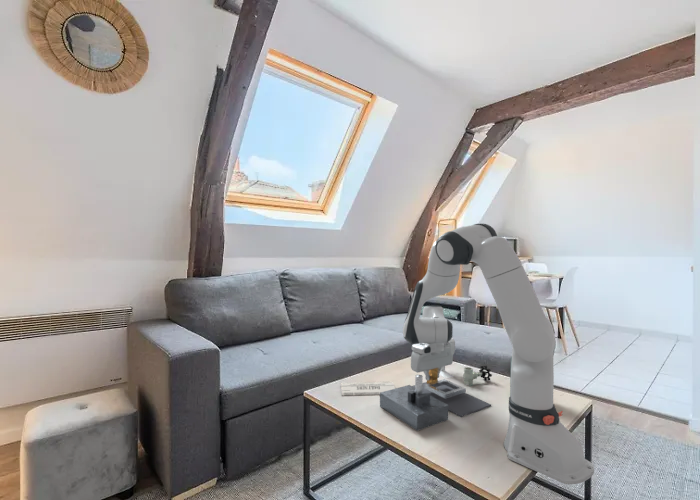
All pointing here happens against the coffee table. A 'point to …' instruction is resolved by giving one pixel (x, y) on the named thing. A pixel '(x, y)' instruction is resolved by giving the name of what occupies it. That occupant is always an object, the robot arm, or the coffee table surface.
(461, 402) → the mat
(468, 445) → the coffee table surface
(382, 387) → the newspaper
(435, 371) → the square frame with handle
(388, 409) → the toggle switch
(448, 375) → the heart sculpture
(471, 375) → the valve
